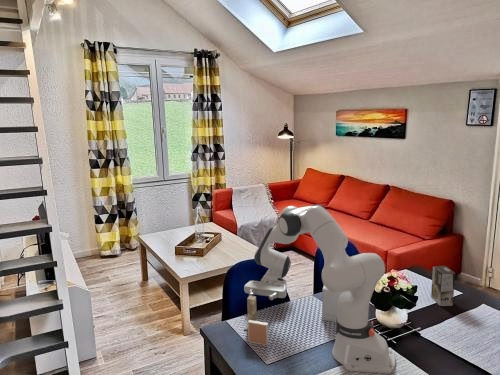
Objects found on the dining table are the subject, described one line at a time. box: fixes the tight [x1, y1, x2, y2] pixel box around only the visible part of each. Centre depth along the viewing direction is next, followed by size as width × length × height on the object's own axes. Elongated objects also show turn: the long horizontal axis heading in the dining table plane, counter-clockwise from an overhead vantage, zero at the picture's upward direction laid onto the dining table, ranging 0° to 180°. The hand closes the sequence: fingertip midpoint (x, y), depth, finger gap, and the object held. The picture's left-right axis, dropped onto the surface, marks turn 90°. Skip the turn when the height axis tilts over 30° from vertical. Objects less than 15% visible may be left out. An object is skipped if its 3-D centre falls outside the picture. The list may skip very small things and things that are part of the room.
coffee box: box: [430, 265, 456, 307], centre depth 177 cm, size 9×6×16 cm
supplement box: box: [321, 285, 343, 323], centre depth 167 cm, size 9×9×15 cm
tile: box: [247, 320, 270, 346], centre depth 151 cm, size 8×2×9 cm, turn 70°
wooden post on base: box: [244, 295, 258, 332], centre depth 162 cm, size 5×7×14 cm
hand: (260, 297), depth 173 cm, fingers open, 8 cm apart
